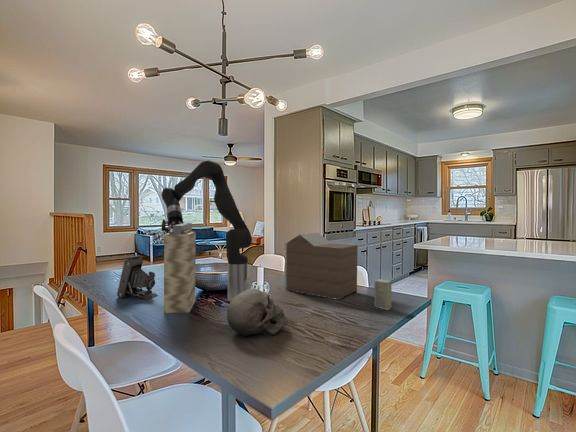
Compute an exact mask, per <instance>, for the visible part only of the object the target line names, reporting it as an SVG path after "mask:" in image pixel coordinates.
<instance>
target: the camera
mask: <svg viewBox="0 0 576 432" xmlns="http://www.w3.org/2000/svg"><path fill="white" fill-rule="evenodd" d="M143 262H144V259H143V257H142V255H141V254H138V255H132V256H128V257H127V258H126V259H125V260H124V261H123V265H122V270H121V274H120V277H119V278H120V279H119V284H118V288H117V292H116V295H117V298H118V299H124V298H126V297H128V296H131V295H132V296H135V297H139V298H142V299H144V300H147V301H148V300H152V299H154V298H156V297H158V296H159V295H158V294H156V293H154V292H153V291H152V289H153V288H154V286H155V285H156V280H155V277H156V274H155V272H154V271H148V272H146V271H144V270H143V269H142V266H143ZM143 288H145V289H146V290H144V289H143Z"/></svg>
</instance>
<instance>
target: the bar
mask: <svg viewBox="0 0 576 432" xmlns="http://www.w3.org/2000/svg"><path fill="white" fill-rule="evenodd" d="M192 224H193V223H191V222H184V223H182V224H178V225H173V229H172V231H173V234H183V232H184V231H187V230H189V229H193V225H192Z"/></svg>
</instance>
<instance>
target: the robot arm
mask: <svg viewBox="0 0 576 432" xmlns="http://www.w3.org/2000/svg"><path fill="white" fill-rule="evenodd" d="M202 178H205V179H208V180H210V181H212V182H213V186H214V188H215V192H214V195H213V201H214V203H215V206H216V209H217V211H218V213H219V214H220V215H221V216H222V217H223V218H224V219H225V220H226V221H228V222H229V223H230V225H232V227H233V229H232V228H231V229H229V230H228V231H227V233H226V237H225V248H226V259H227V301H228V302H231V300H232V299H233V298H234V297H235V296H237V295H238V294H240V293H242V292H243V291H245V290H248V289H250V288H249V287H250V283H249V282H250V281H249V276H248V273H249V272H248V270H249V269H248V267H249V266H248V263H249V258H248V256H246V255H243V254H241V252H240V249H246V248H249V247H250V246H251V245H252V243H253V239H252V235H251V232H250V230H249V227H248V226H247V224H246V222H245V221H244V219H243V217H242V215H241V213H240V211H239V209H238V206H237V204H236V202H235V199H234V197H233V195H232V193H231V191H230V188H229V185H228V184H227V181H226V178H225V173H224V171H223V167H222V166H221V165H220V164H219V163H218V162H216V161H212V160H207V159H205V160H203V161H202V162H200V163H199V164H198V165H197V166H196V167H195V168H193V170H192V171H191V172H190V173H189V174H188V175H187V176H186V177H185V178H184V179H182V180H180V181H179V182H178V183H176V184H175V185H174V188H172V187H169V186H166V187H164V188H163V189H162V190H161V199H162V200H163V202H164V204H165V206H166V219H167V220H166V219H162V221H161V231H162V232H165V234H167V233H169V232H170V231H172V230H173V225H178V224H182V223H185V222H184V219H183V213H182V209H181V203H180V201H182V198H183V197H184V196H185V195H186V194H188V193H190V192H191V191H192V190H193V189H194V188H195V186H196V183H197V182H198V180H200V179H202Z"/></svg>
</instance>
